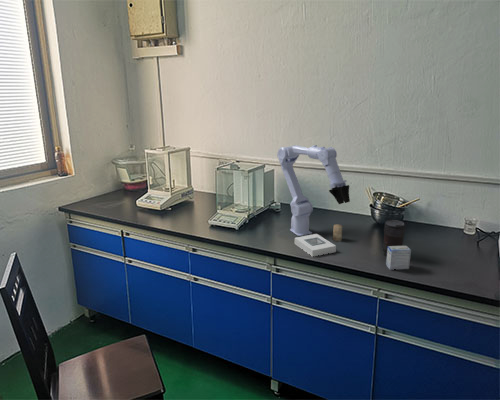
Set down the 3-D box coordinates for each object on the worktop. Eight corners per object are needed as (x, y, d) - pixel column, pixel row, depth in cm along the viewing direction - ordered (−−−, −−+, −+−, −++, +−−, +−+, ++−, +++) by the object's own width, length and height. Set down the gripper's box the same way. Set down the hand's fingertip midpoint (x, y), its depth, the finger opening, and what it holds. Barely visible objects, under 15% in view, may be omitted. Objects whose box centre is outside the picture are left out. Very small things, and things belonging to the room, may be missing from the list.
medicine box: (404, 264, 165) (406, 245, 163) (409, 269, 161) (411, 249, 158) (385, 265, 165) (387, 245, 162) (389, 270, 161) (391, 250, 158)
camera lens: (378, 253, 176) (380, 221, 172) (393, 250, 179) (396, 218, 175) (390, 260, 169) (393, 227, 165) (405, 257, 172) (409, 224, 167)
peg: (331, 238, 193) (331, 225, 191) (338, 237, 195) (338, 223, 193) (336, 241, 190) (336, 227, 188) (343, 240, 191) (343, 226, 189)
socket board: (294, 243, 188) (294, 237, 187) (316, 239, 192) (316, 233, 191) (312, 256, 174) (312, 249, 173) (335, 252, 178) (336, 245, 177)
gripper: (336, 170, 169) (347, 201, 167) (347, 170, 181) (358, 198, 179) (321, 176, 172) (332, 206, 171) (333, 176, 184) (343, 203, 183)
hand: (344, 203), depth 175 cm, fingers open, 7 cm apart
